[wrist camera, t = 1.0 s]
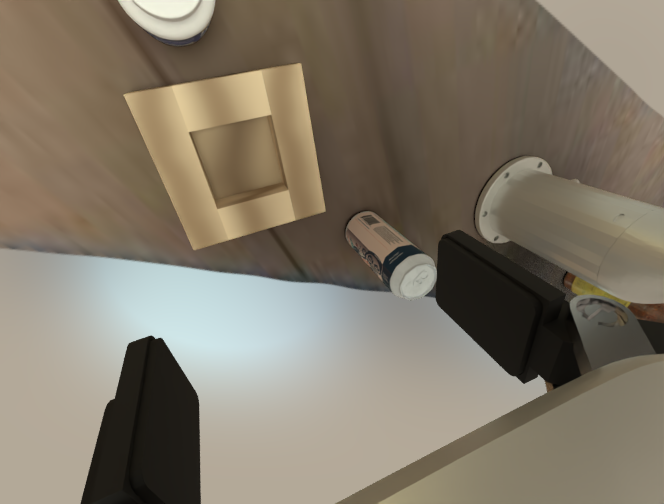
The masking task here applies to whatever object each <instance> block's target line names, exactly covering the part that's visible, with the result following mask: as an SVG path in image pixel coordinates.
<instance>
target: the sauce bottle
mask: <svg viewBox="0 0 664 504" xmlns="http://www.w3.org/2000/svg"><path fill="white" fill-rule="evenodd" d="M564 285H565V287H567V288H568V289H570V290H572V292H574V293H576V294H577V295H579V296H580V295H598V296H604V297H607V298H610V299H613V300H615V301H617V302H619V303H621V304H623V305H624V306H625V307H627V308H628V309H629V310H630V311H631V312H632V313H633V314H634V315H635V317H636V319H640V320H647V321H653V322H659V323H664V303H661V304H641V303H633V302H629V301H625V300H622V299H619V298H617V297H615V296H613V295H611V294H609V293H607V292H605V291H603V290H601V289H599V288H597V287H596V286H594V285H592V284H590V283H588V282H586V281H585V280H583V279H581V278H579V277H577V276H575V275H573V274H572V273H570V272H567V274H566V276H565V278H564Z"/></svg>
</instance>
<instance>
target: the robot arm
mask: <svg viewBox="0 0 664 504" xmlns="http://www.w3.org/2000/svg"><path fill="white" fill-rule="evenodd" d="M475 224H476V229H477V231H478V233H479V234H480V235H481V236H482V237H483V238H485V239H486V240H488V241H490V242H492V243H505V242H508V241H513V242H515V243H516V244H518V245H520V246H522V247H524V248H526V249H528V250H529V251H531V252H533V253H535V254H537V255H539V256H540V257H542V258H544V259H546V260H548V261H550V262H551V263H553V264H555V265H557V266H559V267H561V268H562V269H564V270H566V271H568V272H570V273H572V274H573V275H575V276H577V277H579V278H581V279H583V280H585V281H586V282H588V283H590V284H592V285H594V286H596V287H597V288H599V289H601V290H603V291H605V292H607V293H609V294H611V295H613V296H615V297H617V298H619V299H622V300H625V301H629V302H633V303H641V304H661V303H664V208H662V207H658V206H655V205H651V204H648V203H645V202H641V201H638V200H635V199H631V198H628V197H625V196H621V195H618V194H614V193H611V192H608V191H604V190H601V189H598V188H594V187H591V186H588V185H584V184H581V183H580V182H579V180H577V179H572V180H567V179H564V178H561V177H557V176H554V175H552V171H551V168H550V166H549V164H548V163H547V162H546V161H545V160H543V159H541V158H538V157H534V156H522V157H519V158H516V159H514V160H512V161H510V162H508V163H507V164H505V165H504V166H503V167H501V168H500V169H499V170H498V171H497V172H496V173H495V174H494V175H493V176H492V178H491V179H490V180H489V181H488V183H487V184H486V186H485V188H484V189H483V191H482V193H481V195H480V197H479V200H478V203H477V206H476V212H475ZM565 296H566V294H565V293H563V292H562V291H560V290H558V289H557V288H555V287H553V286H552V285H550V284H548V283H547V282H545V281H543V280H542V279H540V278H538V277H537V276H535V275H534V274H532V273H530V272H529V271H527V270H525V269H524V268H522V267H520V266H519V265H517V264H515V263H514V262H512V261H510V260H509V259H507V258H506V257H504V256H502V255H501V254H499V253H497V252H496V251H494V250H492V249H491V248H489V247H487V246H486V245H484V244H482V243H481V242H479V241H478V240H476V239H474V238H473V237H471V236H469V235H468V234H466V233H464V232H463V231H460V230H456V231H453V232H451V233H448V234H445V235H443V236H442V238H441V240H440V241H439V244H438V261H437V280H436V301H437V304H438V305H439V307H440V308H441V309H442V310H443V311H444V312H445V313H447V314H448V315H449V316H450V317H451V318H452V319H453V320H454V321H455V322H456V323H457V324H458V325H459V326H460V327H461V328H462V329H463V330H464V331H465V332H466V333H467V334H468V335H469V336H470V337H471V338H472V339H473V340H474V341H475V342H476V343H477V344H478V345H479V346H481V347H482V348H483V349H484V350H485V351H486V352H487V353H488V354H489V355H490V356H491V357H492V358H493V359H494V360H495V361H496V362H497V363H498V364H499V365H500V366H501V367H502V368H503V369H504V370H505V371H506V372H507V373H509V374H510V375H512V376H516V377H517V378H518V379H519V380H520V381H521V382H522V383H524V384H525V383H527V382H529V381H531V380H533V379H535V378H537V377H538V374H539V375H540V376H541V377H542V378H543V379H544V380H545V384H546V389H547V393H546V394H544V395H542V396H540V397H538V398H536V399H534V400H533V401H531V402H528V403H527V404H525V405H523V406H521V407H519V408H517V409H515V410H513V411H511V412H509V413H507V414H505V415H503V416H501V417H500V418H498V419H496V420H494V421H492V422H490V423H488V424H486V425H484V426H482V427H480V428H478V429H476V430H475V431H473V432H471V433H469V434H467V435H465V436H463V437H461V438H459V439H457V440H455V441H453V442H451V443H450V444H448V445H446V446H444V447H442V448H440V449H438V450H436V451H434V452H432V453H430V454H429V455H427V456H425V457H423V458H421V459H419V460H417V461H415V462H413V463H411V464H410V465H408V466H406V467H404V468H402V469H400V470H398V471H396V472H395V473H392V474H391V475H389V476H387V477H385V478H383V479H381V480H379V481H377V482H375V483H373V484H372V485H370V486H368V487H366V488H364V489H362V490H360V491H358V492H356V493H355V494H353V495H351V496H349V497H347V498H345V499H343V500H341V501H340V502H338V503H336V504H664V323H659V322H653V321H647V320H640V319H636V317H635V315H634V314H633V313H632V312H631V311H630V310H629V309H628V308H627V307H625V306H624V305H623V304H621V303H619V302H617V301H615V300H613V299H610V298H607V297H604V296H598V295H580V296H576V297H575V298H573V299H572V300H571V302H570V303H568V302H567V301H565V300H564V299H565ZM199 434H200V430H199V400H198V396H197V393H196V391H195V390H194V388H193V387H192V385H191V383H190V382H189V380H188V379H187V377H186V375H185V374H184V372H183V371H182V369H181V367H180V366H179V364H178V363H177V361H176V360H175V358H174V357H173V355H172V353H171V352H170V350H169V348H168V347H167V345H166V344H165V342H164V340H163V339H162V338H158V339H155V338H154V337H153V336H148V337H145V338H142V339H139V340H136V341H133V342H131V343H129V345H128V346H127V350H126V354H125V358H124V363H123V367H122V371H121V375H120V379H119V383H118V387H117V392H116V396H115V399H113V400H110V402H109V403H108V404H107V406H106V409H105V412H104V416H103V419H102V423H101V427H100V431H99V435H98V439H97V442H96V447H95V450H94V454H93V458H92V462H91V466H90V469H89V473H88V477H87V481H86V485H85V488H84V492H83V496H82V500H81V504H201V496H200V435H199Z"/></svg>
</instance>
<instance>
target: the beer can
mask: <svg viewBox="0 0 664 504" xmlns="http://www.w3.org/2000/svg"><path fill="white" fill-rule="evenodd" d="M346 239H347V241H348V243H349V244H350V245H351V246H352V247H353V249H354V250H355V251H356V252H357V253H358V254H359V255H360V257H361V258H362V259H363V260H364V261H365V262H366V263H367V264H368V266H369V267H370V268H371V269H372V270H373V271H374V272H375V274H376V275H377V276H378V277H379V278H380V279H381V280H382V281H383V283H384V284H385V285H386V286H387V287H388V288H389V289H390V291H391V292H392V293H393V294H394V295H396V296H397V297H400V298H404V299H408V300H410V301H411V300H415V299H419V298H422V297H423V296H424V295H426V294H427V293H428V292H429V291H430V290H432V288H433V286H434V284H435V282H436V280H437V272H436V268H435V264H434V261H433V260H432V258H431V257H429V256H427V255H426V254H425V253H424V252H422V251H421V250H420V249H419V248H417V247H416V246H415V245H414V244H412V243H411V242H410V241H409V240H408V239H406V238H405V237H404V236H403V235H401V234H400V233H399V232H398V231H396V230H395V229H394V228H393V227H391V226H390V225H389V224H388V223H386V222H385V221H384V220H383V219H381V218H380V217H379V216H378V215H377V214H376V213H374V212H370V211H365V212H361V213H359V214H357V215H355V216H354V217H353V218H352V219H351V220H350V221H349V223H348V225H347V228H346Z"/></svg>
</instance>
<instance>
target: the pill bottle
mask: <svg viewBox="0 0 664 504" xmlns="http://www.w3.org/2000/svg"><path fill="white" fill-rule="evenodd" d="M118 2H119V3H120V5H121V6H122V8H123V9H124V10H125V12H126V13H127V14H128V15H129V16H130V17H131V18H132V19H133V20H134V22H135V23H137V24H138V25H139V26H140V27H141V28H143V29H144V30H145V31H146V32H147V33H149V34H150V35H151V36H152V37H154V38H155V39H157V40H159V41H161V42H163V43H165V44H168V45H172V46H187V45H191V44H193V43H195V42H197V41H198V40H199V39H200V38H202V36H203V35H204V34H205V33H206V31H207V29H208V27H209V24H210V22H211V18H212V15H213V12H214V8H215V0H118Z"/></svg>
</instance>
